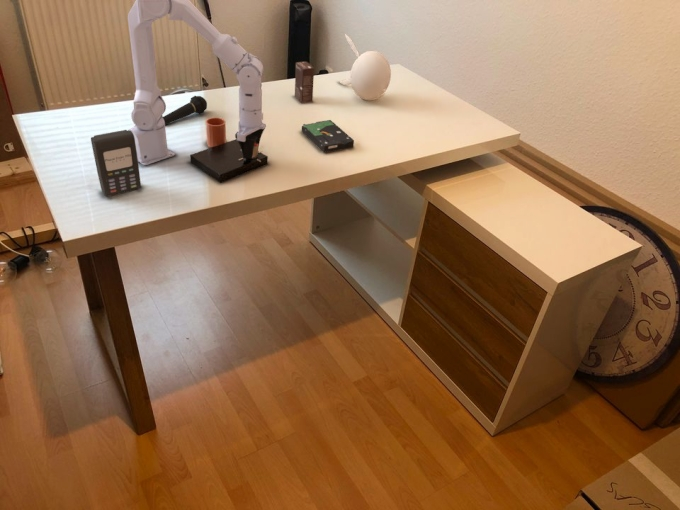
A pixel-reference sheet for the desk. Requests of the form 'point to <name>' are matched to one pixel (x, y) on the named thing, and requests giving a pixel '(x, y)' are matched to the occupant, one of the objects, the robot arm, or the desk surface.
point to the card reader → (116, 162)
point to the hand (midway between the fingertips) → (250, 154)
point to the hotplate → (226, 161)
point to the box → (304, 82)
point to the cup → (215, 131)
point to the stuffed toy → (368, 74)
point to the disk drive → (327, 136)
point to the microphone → (187, 109)
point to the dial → (255, 151)
